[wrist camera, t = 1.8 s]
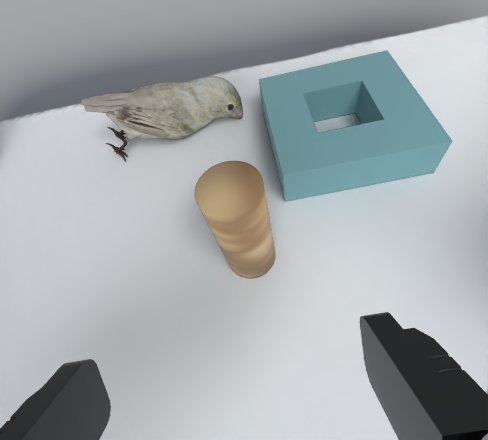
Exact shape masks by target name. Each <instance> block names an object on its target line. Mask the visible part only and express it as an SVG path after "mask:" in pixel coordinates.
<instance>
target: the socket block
mask: <svg viewBox="0 0 488 440" xmlns="http://www.w3.org/2000/svg"><path fill="white" fill-rule="evenodd" d="M259 85H260V93H261V100H262V108H263V113H264V117H265V121H266V125H267V129H268V133H269V137H270V142H271V146H272V150H273V154H274V158H275V162H276V166H277V170H278V174H279V178H280V183H281V187H282V191H283V195H284V199H285V202H286V201H291V200H296V199H301V198H306V197H311V196H317V195H322V194H327V193H332V192H337V191H342V190H347V189H353V188H358V187H363V186H368V185H373V184H378V183H383V182H389V181H394V180H399V179H404V178H409V177H414V176H419V175H425V174H430V173H434V171H435V170H436V168H437V166H438V165H439V163H440V161H441V160H442V158H443V156H444V154H445V153H446V151H447V149H448V148H449V146H450V144H451V143H452V140H451V138H450V137H449V136H448V134H447V133H446V131H445V130H444V129H443V127H442V126H441V124H440V123H439V122H438V120H437V119H436V117H435V116H434V115H433V113H432V112H431V111H430V109H429V108H428V106H427V105H426V104H425V102H424V101H423V99H422V98H421V97H420V95H419V94H418V92H417V91H416V90H415V88H414V87H413V85H412V84H411V83H410V81H409V80H408V79H407V77H406V76H405V74H404V73H403V72H402V70H401V69H400V67H399V66H398V65H397V63H396V62H395V60H394V59H393V58H392V56H391V55H390V54H389V52H388V51H382V52H378V53H373V54H369V55H364V56H360V57H356V58H351V59H347V60H342V61H338V62H333V63H329V64H325V65H320V66H316V67H311V68H307V69H303V70H298V71H294V72H289V73H285V74H280V75H276V76H272V77H267V78H263V79H259ZM353 113H356V114H357V116H358V118H359V120H360V122H361V124H360V125H355V126H351V127H346V128H341V129H336V130H331V131H327V132H322V133H318V132H317V129H316V127H315V124H314V122H316V121H320V120H325V119H330V118H334V117H339V116H344V115H348V114H353Z"/></svg>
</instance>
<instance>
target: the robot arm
mask: <svg viewBox="0 0 488 440" xmlns="http://www.w3.org/2000/svg"><path fill="white" fill-rule="evenodd" d="M360 329H361V337H362V345H363V353H364V361H365V367H366V371H367V374H368V377H369V380H370V383H371V385H372V388H373V390H374V392H375V394H376V396H377V398H378V400H379V402H380V403H381V405H382V407H383V409H384V411H385V413H386V415H387V417H388V419H389V421H390V423H391V425H392V427H393V429H394V431H395V433H396V435H397V437H398V439H399V440H488V395H487V394H486V392H485V391H484V390H483V389H482V388H481V387H480V386H479V385H478V384H477V383H476V382H475V381H474V380H473V379H472V378H471V377H470V376H469V375H468V374H467V373H466V372H465V371H464V370H462V369H461V366H460V365H459V364H458V363H457V362H456V361H455V360H454V359H453V358H452V357H449V355H448V353H447V352H446V351H445V350H444V349H443V348H442V347H441V346H440V345H439V344H438V343H437V342H436V341H435V339H433V338H432V337H430V336H428V335H426V334H424V333H423V332H421V331H419V330H417V329H415V328H410V329H403V328H402V327H401V326H400V325H399V324H398V322H397V321H396V320H395V319H394V318H393V317H392V315H391V314H390V313H388V312H385V313H379V314H373V315H367V316H361V317H360ZM110 410H111V406H110V400H109V397H108V394H107V391H106V389H105V386H104V383H103V380H102V378H101V375H100V372H99V369H98V367H97V364H96V363H95V361H94V360H91V359H89V360H82V361H76V362H70V363H65V364H63V365H62V366H61V367H60V368H59V369H58V370H57V371H56V372H55V374H54V375H53V376H52V377H51V378H50V379H49V380H48V382H47V383H46V384H45V385H44V386H43V387H42V388H41V389H40V390H38V391H37V392H36V393H35V394H33V395H32V396H31V397H30V398H28V399H27V400H26V401H25V402H24V403H23V404H22V405H21V406H20V408H19V409H18V410H17V411H16V412H15V413H14V414H13V415H12V416H11V419H10V421H7V422H6V423H5V424H4V425H3V426H2V428H1V429H0V440H99V439H100V437H101V435H102V433H103V431H104V429H105V428H106V426H107V423H108V421H109V417H110Z"/></svg>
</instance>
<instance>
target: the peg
mask: <svg viewBox="0 0 488 440" xmlns="http://www.w3.org/2000/svg"><path fill="white" fill-rule="evenodd" d="M195 199H196V202H197V204H198V206H199V208H200V210H201V212H202V214H203V216H204V217H205V219H206V221H207V223H208V225H209V227H210V229H211V231H212V233H213V235H214V236H215V238H216V240H217V242H218V244H219V246H220V248H221V250H222V252H223V254H224V255H225V257H226V259H227V261H228V263H229V265H230V267H231V269H232V270H233V271H234V272H235V273H236V274H237V275H239V276H241V277H244V278H257V277H260V276H262V275H264V274H266V273H267V272H268V271H269V270H270V269H271V267H272V266H273V264H274V261H275V249H274V243H273V237H272V231H271V225H270V219H269V213H268V207H267V202H266V196H265V190H264V184H263V179H262V176H261V174H260V173H259V171H258V170H257V169H256V168H255V167H253V166H252V165H250V164H248V163H245V162H241V161H227V162H223V163H220V164H217V165H215V166H213V167H211V168H210V169H208V170H207V171H206V172H205V173H204V174H203V175H202V176H201V177H200V178H199V180H198V182H197V184H196V187H195Z"/></svg>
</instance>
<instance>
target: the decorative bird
mask: <svg viewBox="0 0 488 440" xmlns="http://www.w3.org/2000/svg"><path fill="white" fill-rule="evenodd" d="M81 104H82V105H85V106H84V107H85V110H86V111H88V112H102V113H106V115H107V116H108V117H109V118H110V119H111V120H112V121H113V122H114V123H116V124H117V125H118V126H119V127H120V128H121V129H122V131H120V132H118V131H116V130H114V129H113V128H110V127H107V128H109V129H111V130H112V131H113V132H114V133H115V135H116V136H117V137H118V138H120V139H121V140H122V141H123V142H124V145H122V146H121V147H119V148H118V147H115V146H114V145H112V144H109V143H106V144H108V145H110V146H111V147H113V149H114V150H115V152H116V153H117V154H119V155H121V156H122V157H123V158H124V160H125V162H126V159H125V157H124V155H126V153H124V152H123V151H122V150H125V149H124V147H125V146H126V145H127V142H128V141H129V140H131V139H133V138H136V137H140V138H143V139H151V138H172V139H178V138H185V137H187V136H190V135H191V134H192V133H194V132H196V131H197V130H199V129H200V128H202V127H203V126H205V125H207V124H208V123H210V122H211V121H212V120H213V119H214V118H219V117H232V118H240V119H241V118H242V117H243V109H242V103H241V99H240V96H239V94H238V92H237V90H236V89H235V87H234V86H233V85H232V84H231V83H230V82H229V81H227V80H226V79H224V78H221V77H216V76H210V77H204V78H199V79H196V80H193V81H189V82H182V83H172V82H167V83H158V84H153V85H149V86H146V87H140V88H135V89H132V90H129V91H127V92H124V93H118V94H104V95H103V96H94V97H92V98H87V99H83V100H82V101H81ZM123 132H125V133H126V134H127V136H126V137H124V136H123V135H124V134H125V133H123ZM124 139H125V140H124ZM123 154H124V155H123ZM126 156H127V155H126ZM127 157H128V156H127Z"/></svg>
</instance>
